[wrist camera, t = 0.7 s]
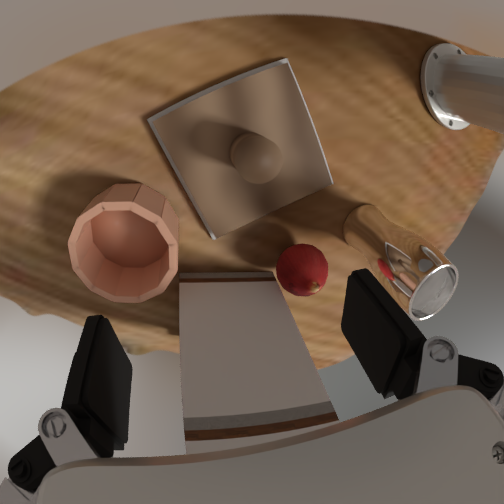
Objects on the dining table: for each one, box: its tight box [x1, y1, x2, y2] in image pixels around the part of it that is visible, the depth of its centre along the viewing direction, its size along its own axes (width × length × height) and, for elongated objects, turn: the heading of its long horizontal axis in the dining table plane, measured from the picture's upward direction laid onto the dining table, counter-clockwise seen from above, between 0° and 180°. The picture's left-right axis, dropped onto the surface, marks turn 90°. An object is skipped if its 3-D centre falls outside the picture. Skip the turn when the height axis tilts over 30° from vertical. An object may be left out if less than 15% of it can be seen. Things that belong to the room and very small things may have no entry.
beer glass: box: [343, 205, 458, 321], centre depth 30 cm, size 7×7×15 cm
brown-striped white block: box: [179, 272, 340, 454], centre depth 24 cm, size 11×11×35 cm
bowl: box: [68, 183, 179, 303], centre depth 28 cm, size 11×11×6 cm
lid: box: [153, 63, 332, 239], centre depth 26 cm, size 14×14×6 cm
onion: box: [276, 244, 328, 296], centre depth 33 cm, size 6×6×8 cm
